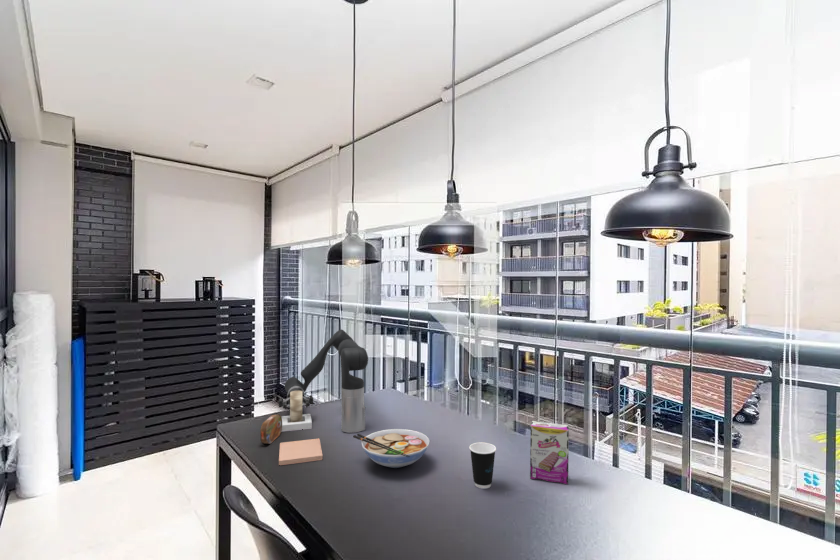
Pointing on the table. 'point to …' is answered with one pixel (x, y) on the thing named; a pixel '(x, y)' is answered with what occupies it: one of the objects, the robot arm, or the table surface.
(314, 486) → the table surface
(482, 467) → the dixie cup
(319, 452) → the terracotta tile
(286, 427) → the pocket block
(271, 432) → the tin
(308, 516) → the table surface
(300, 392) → the maple plug
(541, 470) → the candy bar box
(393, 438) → the ramen bowl
